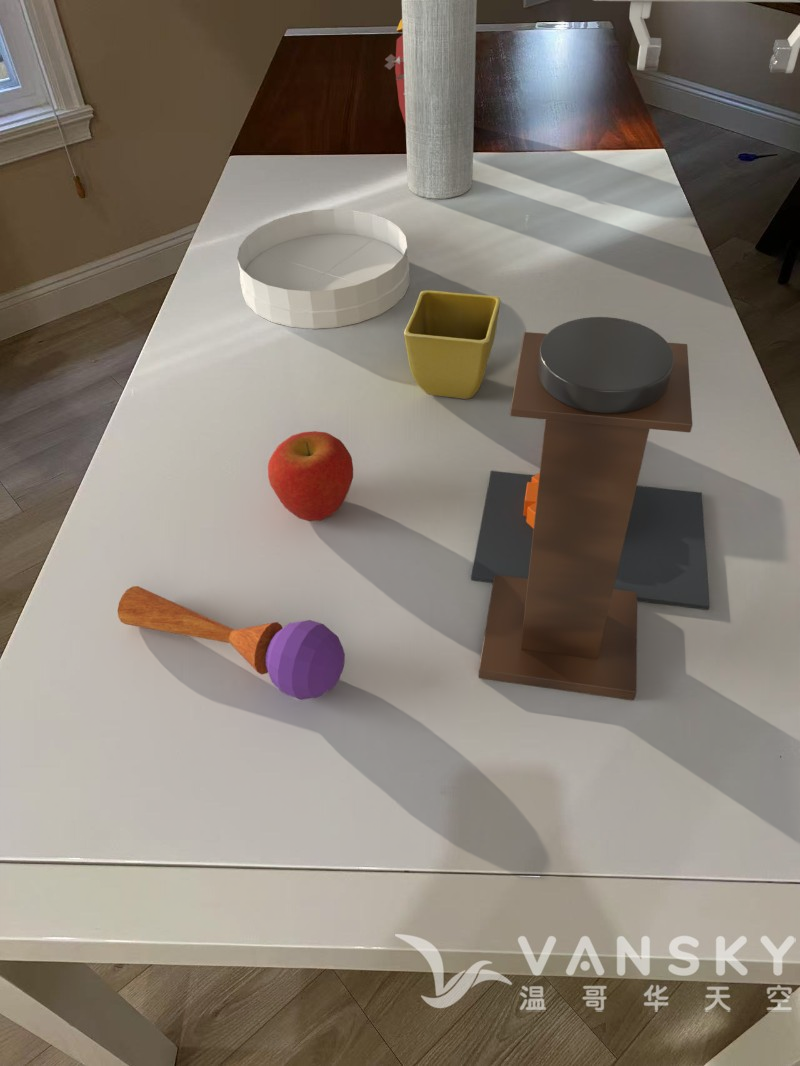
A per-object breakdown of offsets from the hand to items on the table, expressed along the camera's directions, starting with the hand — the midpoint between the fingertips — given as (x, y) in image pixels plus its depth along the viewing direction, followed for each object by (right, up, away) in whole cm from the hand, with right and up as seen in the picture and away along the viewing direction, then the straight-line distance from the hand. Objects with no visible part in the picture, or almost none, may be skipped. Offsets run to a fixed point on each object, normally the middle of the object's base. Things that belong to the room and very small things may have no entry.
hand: (712, 69), depth 61 cm
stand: (-10, -43, +7) cm, 44 cm away
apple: (-31, -32, +19) cm, 48 cm away
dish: (-33, -1, +48) cm, 58 cm away
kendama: (-37, -44, +7) cm, 58 cm away
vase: (-17, +20, +67) cm, 72 cm away
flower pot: (-17, -18, +31) cm, 40 cm away
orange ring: (-6, -29, +19) cm, 35 cm away
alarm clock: (-20, +37, +84) cm, 94 cm away
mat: (-6, -35, +14) cm, 38 cm away
